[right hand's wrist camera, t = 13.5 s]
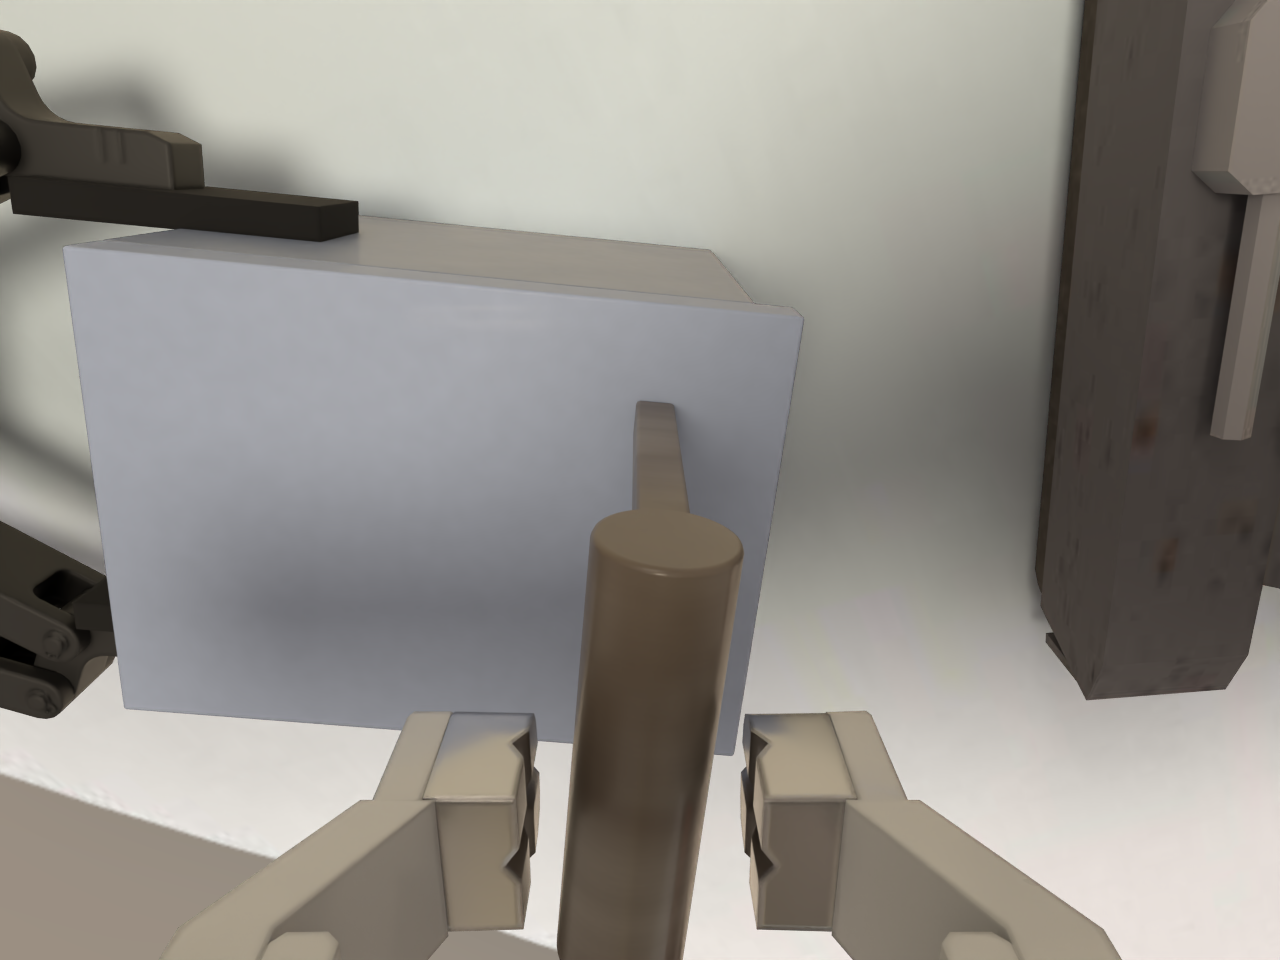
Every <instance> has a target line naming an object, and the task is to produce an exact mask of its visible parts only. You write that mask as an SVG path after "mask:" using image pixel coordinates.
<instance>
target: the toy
mask: <svg viewBox="0 0 1280 960" xmlns="http://www.w3.org/2000/svg"><path fill="white" fill-rule="evenodd" d="M1035 571H1036V575H1037V580H1038V585H1039V588H1040V590H1041V593H1042V596H1041V608H1042V610H1043V612H1044V614H1045V616H1046V618H1047V620H1048V622H1049V624H1050V626H1051V629H1052V631H1053V633H1046V643H1047V644H1048V646H1049V647H1050V648H1051V649H1052V651H1053V652H1054V653H1055V654H1056V656H1057V657H1058V658H1059V659H1060V661H1061V662H1062V663H1063V665H1064V666H1065V667H1066V668H1067V670H1068V671H1069V672H1070V673H1071V675H1072V676H1073V677H1074V678H1075V680H1076V681H1077V683H1078V685H1079V687H1080V689H1081V691H1082V693H1083V695H1084V696H1085V698H1086V700H1096V699H1108V698H1121V697H1134V696H1146V695H1159V694H1172V693H1184V692H1197V691H1210V690H1223V689H1226V687H1227V686H1228V684H1229V683H1230V681H1231V680H1232V678H1233V677H1234V675H1235V674H1236V672H1237V671H1238V669H1239V668H1240V666H1241V665H1242V663H1243V662H1244V660H1245V659H1246V657H1247V656H1248V653H1249V648H1250V643H1251V638H1252V634H1253V629H1254V624H1255V619H1256V614H1257V610H1258V605H1259V600H1260V595H1261V590H1262V585H1266V586H1271V587H1276V588H1280V0H1085V7H1084V19H1083V30H1082V41H1081V53H1080V64H1079V76H1078V87H1077V98H1076V110H1075V121H1074V133H1073V144H1072V155H1071V167H1070V178H1069V190H1068V201H1067V212H1066V224H1065V235H1064V247H1063V258H1062V269H1061V281H1060V292H1059V304H1058V315H1057V326H1056V338H1055V349H1054V361H1053V372H1052V383H1051V395H1050V406H1049V418H1048V429H1047V440H1046V452H1045V463H1044V475H1043V486H1042V497H1041V509H1040V520H1039V531H1038V543H1037V554H1036V566H1035Z"/></svg>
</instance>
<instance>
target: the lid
mask: <svg viewBox="0 0 1280 960" xmlns="http://www.w3.org/2000/svg"><path fill="white" fill-rule="evenodd" d="M63 256H64V263H65V271H66V278H67V286H68V293H69V301H70V308H71V315H72V323H73V330H74V338H75V345H76V353H77V360H78V368H79V375H80V382H81V390H82V397H83V405H84V412H85V420H86V427H87V434H88V442H89V449H90V457H91V464H92V472H93V479H94V487H95V494H96V501H97V509H98V516H99V524H100V531H101V539H102V546H103V554H104V561H105V568H106V576H107V583H108V591H109V598H110V606H111V613H112V621H113V628H114V635H115V643H116V650H117V658H118V665H119V673H120V680H121V688H122V695H123V702H124V707H125V708H126V709H134V710H146V711H159V712H172V713H185V714H198V715H211V716H224V717H237V718H250V719H263V720H275V721H288V722H301V723H314V724H327V725H340V726H353V727H366V728H379V729H392V730H402V729H403V726H404V724H405V722H406V719H407V717H408V716H409V715H411V714H412V713H413V712H414V711H451V712H453V713H454V712H455V711H457V712H504V713H534V715H535V718H536V727H537V741H546V742H559V743H572V744H573V751H572V763H571V775H570V787H569V799H568V812H567V824H566V836H565V848H564V860H563V872H562V884H561V897H560V909H559V921H558V933H557V950H558V955H559V958H560V960H683V954H684V947H685V941H686V934H687V928H688V921H689V914H690V908H691V901H692V895H693V888H694V882H695V875H696V868H697V862H698V855H699V849H700V842H701V835H702V829H703V822H704V816H705V809H706V802H707V796H708V789H709V783H710V776H711V769H712V763H713V756H714V755H727V756H732V755H733V754H734V751H735V744H736V738H737V732H738V726H739V720H740V713H741V707H742V701H743V695H744V689H745V682H746V676H747V670H748V664H749V658H750V652H751V645H752V639H753V633H754V627H755V621H756V614H757V608H758V602H759V596H760V590H761V583H762V577H763V571H764V565H765V559H766V552H767V546H768V540H769V534H770V528H771V522H772V515H773V509H774V503H775V497H776V491H777V484H778V478H779V472H780V466H781V460H782V453H783V447H784V441H785V435H786V429H787V423H788V416H789V410H790V404H791V398H792V392H793V385H794V379H795V373H796V367H797V361H798V354H799V348H800V342H801V336H802V330H803V323H804V318H803V317H802V316H801V315H800V314H799V313H798V312H797V311H796V310H795V309H794V308H792V307H784V306H773V305H763V304H752V303H742V302H732V301H721V300H711V299H701V298H690V297H680V296H669V295H659V294H649V293H638V292H628V291H618V290H607V289H597V288H586V287H576V286H566V285H555V284H545V283H535V282H524V281H514V280H503V279H493V278H483V277H472V276H462V275H452V274H441V273H431V272H420V271H410V270H400V269H389V268H379V267H369V266H358V265H348V264H337V263H327V262H317V261H306V260H296V259H286V258H275V257H265V256H254V255H244V254H234V253H223V252H213V251H203V250H192V249H182V248H171V247H161V246H151V245H140V244H130V243H120V242H109V241H94V242H87V243H80V244H73V245H67V246H64V247H63Z"/></svg>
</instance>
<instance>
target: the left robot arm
mask: <svg viewBox="0 0 1280 960" xmlns="http://www.w3.org/2000/svg"><path fill="white" fill-rule="evenodd" d="M35 72H36V62H35V57H34V54H33V52H32V51H31V49H30V47H29V45H28V44H27V43H26V42H25V41H24V40H23V39H22V38H20V37H19V36H17V35H15V34H13V33H11V32H8V31H3V30H0V204H1V203H3V202H5V201H7V200H9V199H11V203H12V210H13V214H22V215H32V216H43V217H53V218H63V219H74V220H84V221H94V222H105V223H115V224H126V225H136V226H146V227H157V228H167V229H190V230H200V231H210V232H221V233H231V234H241V235H251V236H262V237H272V238H282V239H292V240H303V241H313V242H323V241H327V240H331V239H335V238H339V237H343V236H347V235H351V234H355V233H359V211H358V201H349V200H339V199H329V198H318V197H308V196H298V195H288V194H278V193H267V192H257V191H247V190H237V189H227V188H216V187H206V186H205V184H204V171H203V158H202V145H201V144H199V143H197V142H195V141H193V140H191V139H189V138H187V137H185V136H183V135H181V134H179V133H173V132H163V131H152V130H143V129H133V128H123V127H113V126H103V125H93V124H83V123H74V122H70V121H66V120H64V119H62V118H60V117H58V116H57V115H55V114H54V113H53V112H51V111H50V110H49V109H48V107H47V106H46V105H45V104H44V103H43V101H42V99H41V98H40V96H39V94H38V92H37V90H36V88H35V85H34V83H33V81H32V80H33V78H34V77H35ZM59 608H61V609H59ZM115 656H116V657H117V650H116V643H115V635H114V628H113V621H112V613H111V606H110V598H109V591H108V583H107V576H105V575H103V574H101V573H99V572H97V571H95V570H93V569H91V568H90V567H88V566H86V565H84V564H82V563H80V562H78V561H76V560H74V559H72V558H70V557H68V556H67V555H65V554H63V553H61V552H59V551H57V550H55V549H53V548H51V547H49V546H47V545H45V544H44V543H42V542H40V541H38V540H36V539H34V538H32V537H30V536H28V535H26V534H24V533H22V532H21V531H19V530H17V529H15V528H13V527H11V526H9V525H7V524H5V523H3V522H1V521H0V707H1V708H4V709H8V710H11V711H15V712H18V713H22V714H26V715H29V716H33V717H36V718H43V719H48V718H53V717H55V716H57V715H58V714H59V713H60V712H61V711H63V710H64V709H65V708H66V707H67V706H68V705H69V704H70V703H71V702H72V701H73V700H74V699H75V698H76V697H77V696H78V695H79V694H80V693H81V692H83V691H84V690H85V689H86V688H87V687H88V686H89V685H90V684H91V683H92V682H93V681H94V680H95V679H96V678H97V677H98V676H99V675H100V674H101V673H102V672H104V671H105V670H106V669H107V668H108V667H109V666H110V665H111V664H112V663H113V660H114V658H115Z"/></svg>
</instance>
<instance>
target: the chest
mask: <svg viewBox="0 0 1280 960" xmlns="http://www.w3.org/2000/svg"><path fill="white" fill-rule="evenodd" d="M103 241H109V242H120V243H130V244H140V245H151V246H161V247H171V248H182V249H192V250H203V251H213V252H223V253H234V254H244V255H254V256H265V257H275V258H286V259H296V260H306V261H317V262H327V263H337V264H348V265H358V266H369V267H379V268H389V269H400V270H410V271H420V272H431V273H441V274H452V275H462V276H472V277H483V278H493V279H503V280H514V281H524V282H535V283H545V284H555V285H566V286H576V287H586V288H597V289H607V290H618V291H628V292H638V293H649V294H659V295H669V296H680V297H690V298H701V299H711V300H721V301H732V302H742V303H752V304H755V303H754V302H753V301H752V300H751V298H750V297H749V296H748V295H747V294H746V292H745V291H744V290H743V289H742V287H741V286H740V285H739V284H738V283H737V281H736V280H735V279H734V278H733V276H732V275H731V274H730V273H729V272H728V270H727V269H726V268H725V267H724V265H723V264H722V263H721V262H720V261H719V259H718V258H717V257H716V256H715V254H714V253H712V251H710V250H706V249H696V248H686V247H676V246H666V245H656V244H645V243H635V242H625V241H615V240H605V239H595V238H585V237H574V236H564V235H554V234H544V233H534V232H524V231H514V230H503V229H493V228H483V227H473V226H463V225H453V224H442V223H432V222H422V221H412V220H402V219H392V218H382V217H371V216H361V215H359V233H355V234H351V235H347V236H343V237H339V238H335V239H331V240H327V241H323V242H313V241H303V240H292V239H282V238H272V237H262V236H251V235H241V234H231V233H221V232H210V231H200V230H190V229H174V230H168V231H161V232H154V233H147V234H140V235H134V236H127V237H120V238H113V239H106V240H103Z"/></svg>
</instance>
